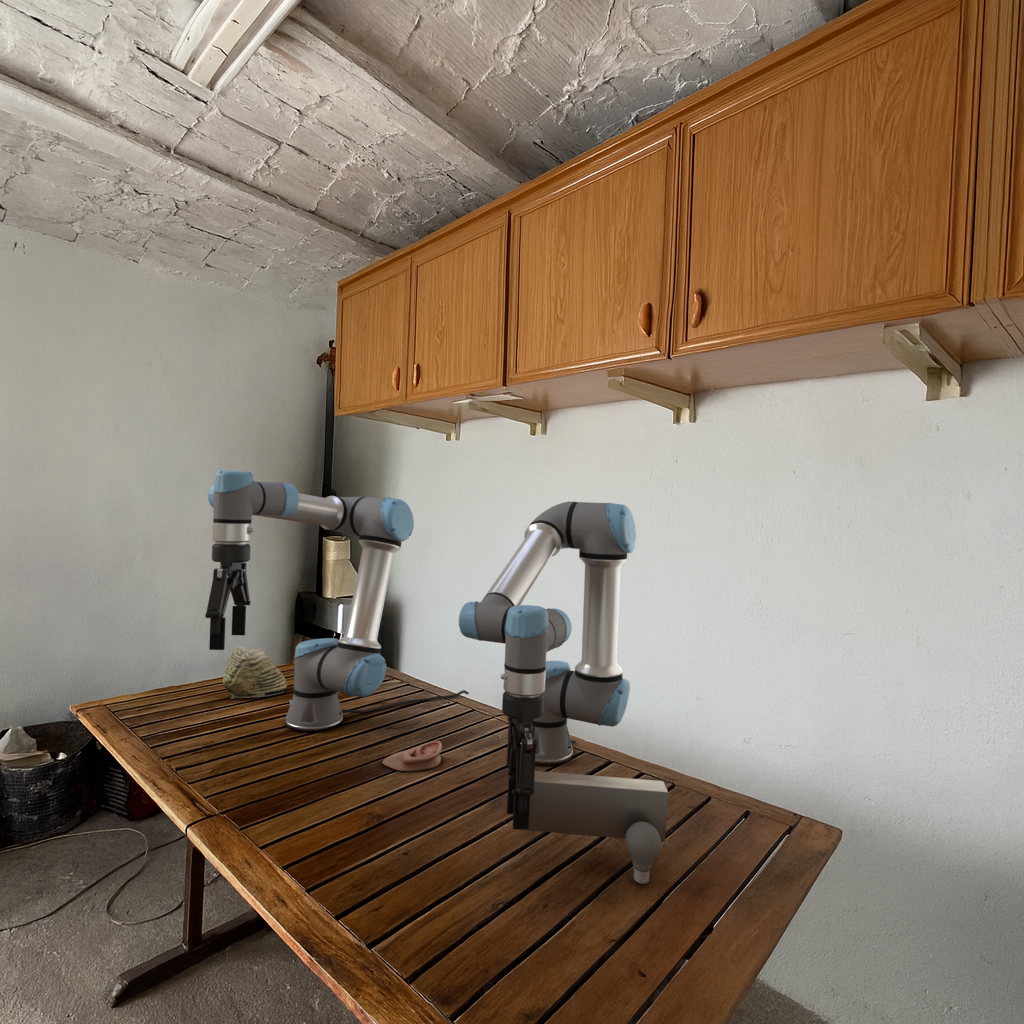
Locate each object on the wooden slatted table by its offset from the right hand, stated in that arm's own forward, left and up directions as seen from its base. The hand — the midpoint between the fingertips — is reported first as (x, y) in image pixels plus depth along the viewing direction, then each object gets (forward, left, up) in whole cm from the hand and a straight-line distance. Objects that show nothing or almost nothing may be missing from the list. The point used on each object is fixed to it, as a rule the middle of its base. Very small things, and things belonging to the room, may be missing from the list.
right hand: (517, 819), depth 115 cm
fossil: (+34, -111, -7) cm, 117 cm away
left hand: (+46, -48, +25) cm, 71 cm away
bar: (-12, +6, -1) cm, 13 cm away
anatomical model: (+5, -45, -7) cm, 46 cm away
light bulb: (-16, +16, -7) cm, 23 cm away
